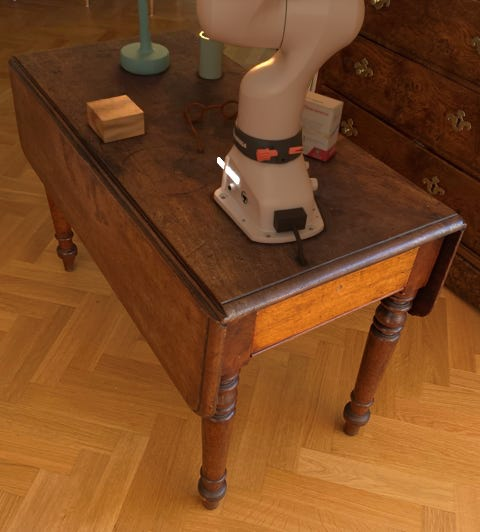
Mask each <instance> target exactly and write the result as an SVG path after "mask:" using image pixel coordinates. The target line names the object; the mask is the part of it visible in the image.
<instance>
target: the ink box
mask: <svg viewBox="0 0 480 532" xmlns="http://www.w3.org/2000/svg"><path fill="white" fill-rule="evenodd" d="M343 108H344V101H341V100H338V99H335V98H331V97H329V96H326V95H322V94H319V93H316V92H313V91H310V90H308V91H307V95H306V99H305V103H304V108H303V113H302V119H301V126H302V135H303V141H302V142H303V152H302V154H303V155H306V156H307V157H308V156H309V157H311V158H313V159H316V160H319V161H322V162H327V161H328V160H329V159H331V157H333V155H334V154H335V153H336V146H337V142H338V136H339V129H340V124H341V119H342V113H343Z"/></svg>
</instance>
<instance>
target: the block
mask: <svg viewBox="0 0 480 532" xmlns="http://www.w3.org/2000/svg"><path fill="white" fill-rule="evenodd" d="M85 105H86V112H87V121H88V122H87V123H88V125H89V127H91V129H92V130H93V131H94V132H95V134H96V135H97V136H98V137H99V138H100V140H102V142H103V143H104V144H107V143H112V142H115V141H119V140H125V139H128V138H133V137H137V136H141V135H145V114H144V113H145V112H144V111H143V110H142V109H141V108H140V107H139V106H138V105H136V103H135V102H134V101H133V100H131V98H130V97H129V96H128V95H127V94H124V95H119V96H113V97H109V98H104V99H99V100H93V101H87V102H86V104H85Z"/></svg>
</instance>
